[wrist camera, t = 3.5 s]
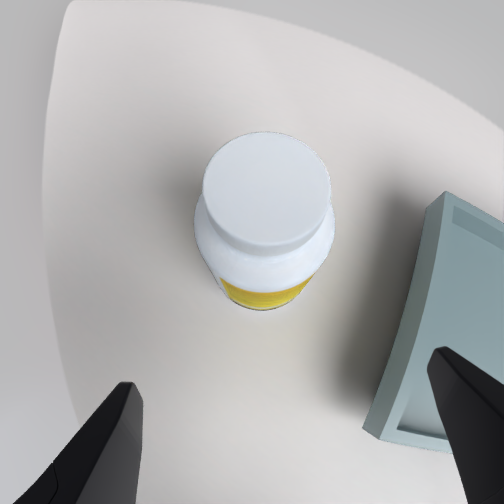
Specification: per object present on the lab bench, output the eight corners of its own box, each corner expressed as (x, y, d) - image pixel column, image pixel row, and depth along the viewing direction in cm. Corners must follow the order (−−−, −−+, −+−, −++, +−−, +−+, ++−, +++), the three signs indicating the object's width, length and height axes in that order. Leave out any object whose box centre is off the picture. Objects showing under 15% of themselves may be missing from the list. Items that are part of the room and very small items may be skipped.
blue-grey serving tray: (500, 450, 18) (535, 460, 13) (352, 421, 19) (378, 439, 14) (539, 284, 22) (573, 271, 17) (415, 218, 23) (445, 190, 19)
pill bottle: (321, 292, 22) (386, 237, 11) (231, 325, 21) (207, 301, 10) (287, 209, 24) (312, 99, 12) (202, 237, 23) (161, 141, 12)
